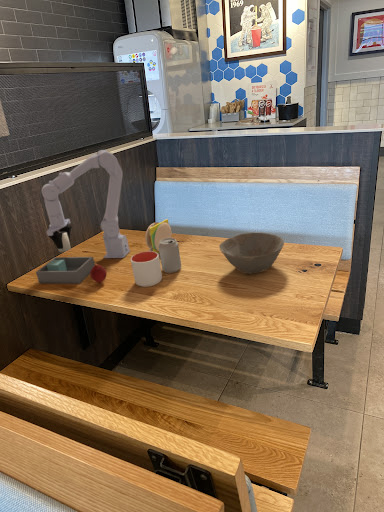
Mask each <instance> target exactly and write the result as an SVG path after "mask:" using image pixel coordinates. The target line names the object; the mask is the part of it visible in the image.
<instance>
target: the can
mask: <svg viewBox="0 0 384 512" xmlns="http://www.w3.org/2000/svg"><path fill="white" fill-rule="evenodd" d="M159 243H160V244H159V246H158V247H159V253H158V254H159V260H160V267H161V271H163V272H165V273H168V274H169V273H171V274H174V273H177V272H178V271H180V269H181V268H182V260H181V254H180V246H179V242H178V241H177V239H176V238H174V237H171V238H166V239H162V240H161V241H160V242H159Z"/></svg>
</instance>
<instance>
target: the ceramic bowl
mask: <svg viewBox="0 0 384 512" xmlns="http://www.w3.org/2000/svg"><path fill="white" fill-rule="evenodd" d="M284 244H285V242H284V238H281V236H278V235H275V234H272V233H265V232H246V233H241V234H237V235H235V236H231V237H229V238H227V239H225V240H224V241H223V242H221V243H220V244H219V246H218V247H219V250H220V252H221V253H222V255H223V256H224V257H225V258H226V260H227V261H228V262H229V263H230V264H231V265H232V266H233V267H234V268H235V270H237V271H239V272H241V273H244V274H259V273H261V272H265V271H266V270H268V269H270V268H272V266H273V264H274V263H275V262H276V260H277V259H278V256H279V255H280V253H281V252H282V249H283V248H284V246H285V245H284Z"/></svg>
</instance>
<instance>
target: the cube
mask: <svg viewBox="0 0 384 512" xmlns="http://www.w3.org/2000/svg"><path fill="white" fill-rule="evenodd" d="M50 261H51V260H50ZM46 264H47V263H46ZM47 269H48V271H67V268H66V264H65V260H53V261H51V262H50V263H49V264H47Z"/></svg>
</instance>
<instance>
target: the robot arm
mask: <svg viewBox="0 0 384 512" xmlns="http://www.w3.org/2000/svg"><path fill="white" fill-rule="evenodd" d="M100 166H101V167H102V168H103V169H104V170H105V171H106V172H107V174H109V181H108V190H107V198H106V207H105V212H104V215H103V219H102V221H101V223H100V229H101V230H102V232H103V235H102V239H103V243H104V247H105V253H106V254H105V255H103V258H104V259H112V258H113V259H124V258H125V257H126V256H127V255H128V253H130V251H131V250H130V247H129V241H128V238H127V235H125V234H122V233H120V227H119V216H118V212H119V206H120V198H121V190H122V184H123V183H122V181H123V174H124V173H123V170H122V167H121V165H120V164H119V160H118V159H117V157H116V156H115V155H114V154H113V153H112V152H110V151H108V150H106V149H100V150H98V151H97V152H96V153H93V154H91V155H90V156H89V157H87V158H86V159H85V160H83V161H82V162H81V163H80V164H78V165H76V166H75V167H74V168H73V169H72V170H71V171H69V172H68V171H64V172H59V173H58V176H56V177H55V178H54V179H53V180H49V181H48V183H46V184H44V185H43V186H42V188H41V194H42V197H43V198H44V200H43V201H44V204H45V209H46V213H47V218H48V220H49V223H50V224H49V225H48V227H49V228H48V229H47V230H46V231H45V233H46V234H47V237H49V238H50V240H52V241H53V243H54V245H55V246H56V248H57V249H62V248H63V243H62V233H59V232H63V231H65V232H67V235H68V238H69V242H70V243H71V231H72V225H71V223H72V222H71V219H70V218H65V215H64V212H63V207H62V204H61V201H60V199H59V194H62V193H64V192H65V191H66V190H68V189H69V188H70V187H72V186H73V185H74V184H75V181H76V180H77V178H79V177H80V176H81V175H84V174H85V173H87V172H88V171H89V170H91V169H100V168H101V167H100Z"/></svg>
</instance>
